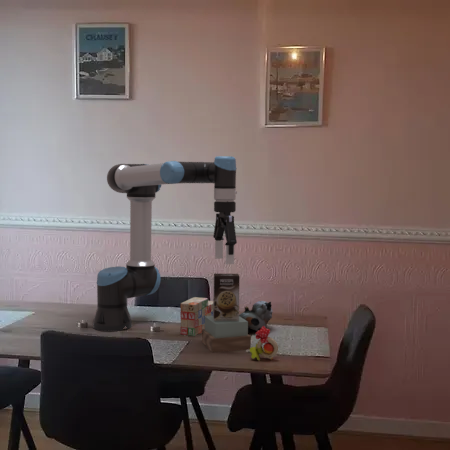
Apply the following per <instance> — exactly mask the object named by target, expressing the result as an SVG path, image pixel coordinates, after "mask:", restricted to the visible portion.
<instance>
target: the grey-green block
mask: <svg viewBox="0 0 450 450" xmlns="http://www.w3.org/2000/svg"><path fill="white" fill-rule="evenodd" d="M205 330H206V331H207V332H208V333H209V334H211V335H212V336H213V337H215V338H225V337H237V336H248V335H249V334H248V333H249V328H248V321H246V320H245V319H243V318H241V317H240V316H239V321H214V320H213V316H205Z"/></svg>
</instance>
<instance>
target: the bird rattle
mask: <svg viewBox="0 0 450 450" xmlns="http://www.w3.org/2000/svg"><path fill="white" fill-rule="evenodd" d="M270 333H271V329H269V328H267V327H266V328H265V327H264V326H263V327H262V328H261V329H260V330H259V331H256V332H255V339H256V340H258V339H259V340H258V341H257V343H256V344H255V346H251V348H250V349H249V352H250V354H251V356H250V358H251V359H253V360H254V359H256V360H257V361H260V360H261V358H260V356H261V357H263V358H266V359H269V360H271V361H272V360H273V359H274V357H276V355H277V354H278V352H279V345H278V342H277V341H276V340H275V339H273V338H272V337H269V335H270Z"/></svg>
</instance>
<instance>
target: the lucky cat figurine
mask: <svg viewBox="0 0 450 450" xmlns="http://www.w3.org/2000/svg"><path fill="white" fill-rule="evenodd" d="M239 316H240V317H241V318H243V319H245V320H246V321H248V329H251V330H253V331H256V332H257V331H259V330H260V329H261V328H262V327H263V326H264V327H265V328H266V329H267V324H268V323H269V322H270V320H271V319H272V318H273V308H272V301H269V302H268V301H265V300H258V301H256V302H254V304H252V308H251V309H249V306H247V305H246V306H245V307H244V311H243V312H241V313H239Z"/></svg>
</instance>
